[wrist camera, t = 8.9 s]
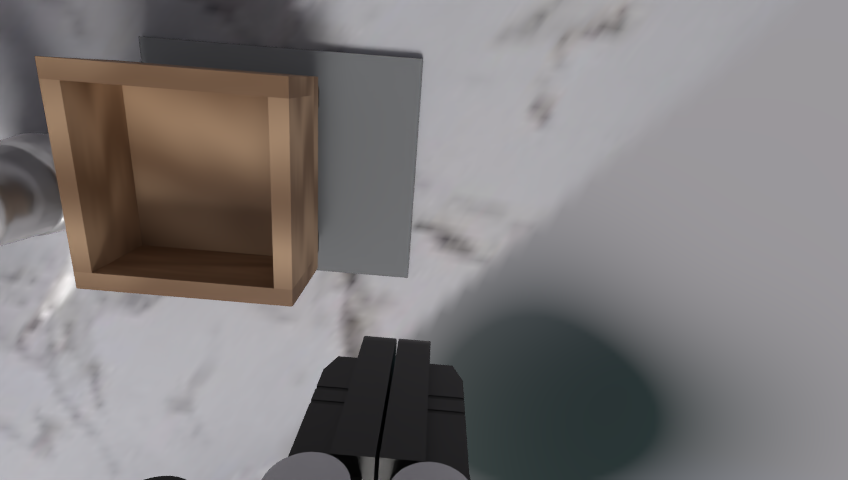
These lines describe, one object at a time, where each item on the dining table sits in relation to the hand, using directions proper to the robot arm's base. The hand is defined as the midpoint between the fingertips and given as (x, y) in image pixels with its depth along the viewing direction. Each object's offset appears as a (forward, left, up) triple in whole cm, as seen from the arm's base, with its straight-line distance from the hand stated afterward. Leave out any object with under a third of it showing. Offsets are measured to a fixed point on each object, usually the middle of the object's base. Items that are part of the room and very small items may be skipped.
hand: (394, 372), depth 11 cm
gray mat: (0, -10, -23) cm, 25 cm away
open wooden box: (0, -13, -23) cm, 26 cm away
